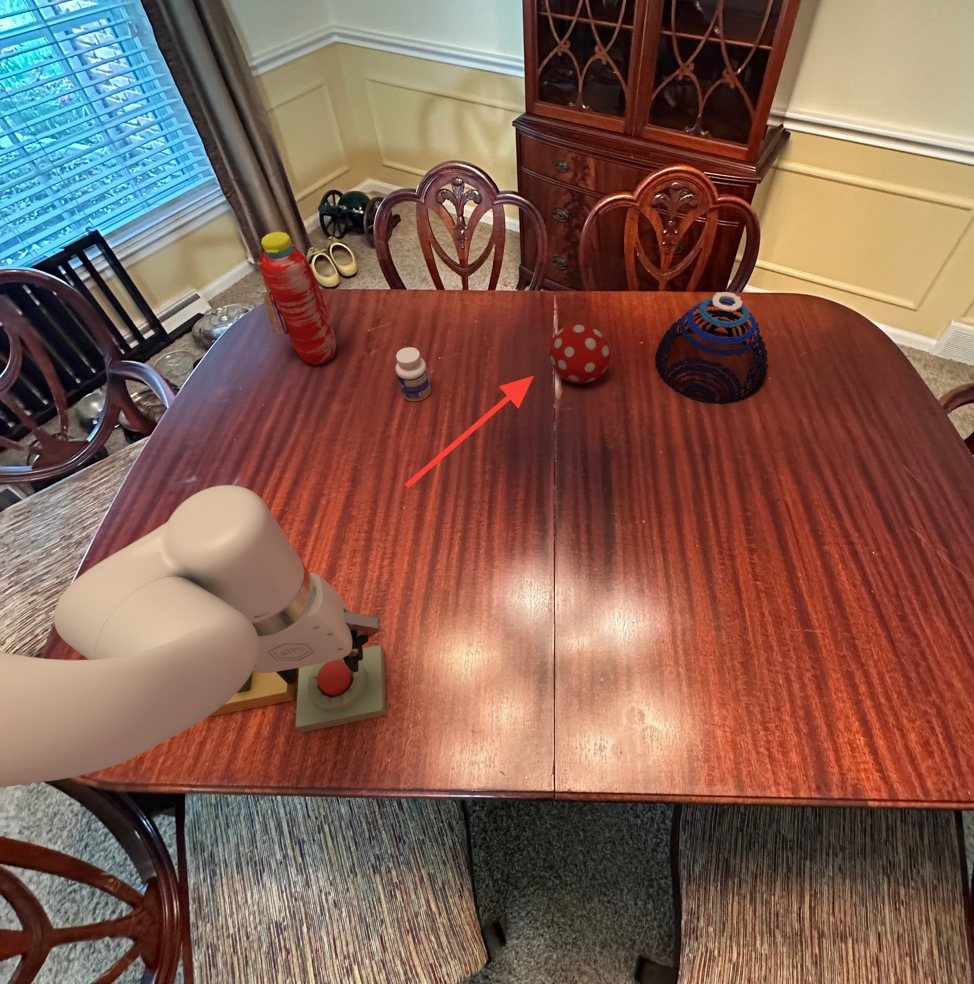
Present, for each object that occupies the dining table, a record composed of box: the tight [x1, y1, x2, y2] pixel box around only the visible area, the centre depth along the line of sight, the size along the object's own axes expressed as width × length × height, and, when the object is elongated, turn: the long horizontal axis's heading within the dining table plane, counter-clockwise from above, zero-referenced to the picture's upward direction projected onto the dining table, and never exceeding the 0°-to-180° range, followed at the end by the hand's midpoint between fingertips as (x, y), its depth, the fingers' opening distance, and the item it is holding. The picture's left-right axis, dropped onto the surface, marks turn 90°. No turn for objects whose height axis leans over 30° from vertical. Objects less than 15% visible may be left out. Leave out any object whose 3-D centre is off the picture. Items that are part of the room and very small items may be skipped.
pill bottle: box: [395, 346, 432, 402], centre depth 105 cm, size 5×5×9 cm
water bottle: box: [256, 231, 337, 366], centre depth 105 cm, size 12×8×25 cm, turn 86°
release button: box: [317, 660, 352, 696], centre depth 71 cm, size 4×4×2 cm
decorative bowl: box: [654, 291, 769, 405], centre depth 106 cm, size 20×20×14 cm
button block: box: [294, 644, 387, 734], centre depth 73 cm, size 10×8×4 cm
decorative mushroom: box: [548, 323, 611, 385], centre depth 109 cm, size 11×11×15 cm
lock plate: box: [208, 671, 297, 718], centre depth 74 cm, size 10×8×3 cm
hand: (324, 664), depth 68 cm, fingers open, 6 cm apart
